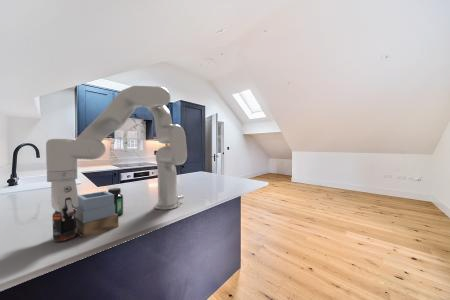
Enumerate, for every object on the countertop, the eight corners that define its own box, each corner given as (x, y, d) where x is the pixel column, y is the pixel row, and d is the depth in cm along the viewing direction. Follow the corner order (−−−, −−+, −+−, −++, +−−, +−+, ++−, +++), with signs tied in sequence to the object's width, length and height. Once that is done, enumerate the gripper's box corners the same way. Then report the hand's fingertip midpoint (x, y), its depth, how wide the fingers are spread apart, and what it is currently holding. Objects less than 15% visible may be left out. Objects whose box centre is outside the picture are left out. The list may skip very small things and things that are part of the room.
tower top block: (105, 209, 75) (105, 190, 75) (115, 215, 69) (115, 194, 69) (75, 216, 67) (75, 195, 67) (83, 223, 61) (83, 200, 61)
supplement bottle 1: (81, 233, 63) (80, 201, 62) (66, 242, 57) (66, 207, 56) (64, 233, 62) (63, 201, 62) (47, 242, 56) (46, 207, 56)
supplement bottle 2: (123, 216, 80) (123, 189, 80) (105, 219, 76) (105, 191, 76) (122, 211, 85) (122, 186, 85) (105, 214, 81) (105, 188, 81)
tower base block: (106, 220, 75) (105, 209, 75) (118, 227, 69) (118, 214, 69) (73, 230, 66) (73, 217, 66) (83, 238, 60) (83, 224, 60)
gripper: (86, 176, 57) (87, 231, 58) (68, 172, 67) (70, 219, 67) (54, 180, 51) (56, 242, 51) (40, 175, 61) (42, 227, 61)
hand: (64, 228), depth 59 cm, fingers closed on supplement bottle 1, 6 cm apart
